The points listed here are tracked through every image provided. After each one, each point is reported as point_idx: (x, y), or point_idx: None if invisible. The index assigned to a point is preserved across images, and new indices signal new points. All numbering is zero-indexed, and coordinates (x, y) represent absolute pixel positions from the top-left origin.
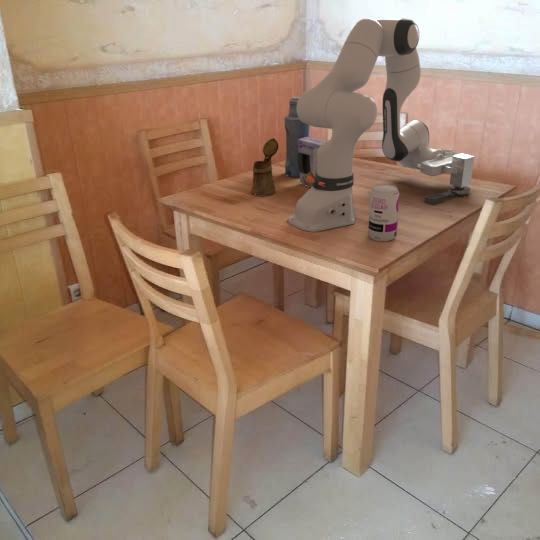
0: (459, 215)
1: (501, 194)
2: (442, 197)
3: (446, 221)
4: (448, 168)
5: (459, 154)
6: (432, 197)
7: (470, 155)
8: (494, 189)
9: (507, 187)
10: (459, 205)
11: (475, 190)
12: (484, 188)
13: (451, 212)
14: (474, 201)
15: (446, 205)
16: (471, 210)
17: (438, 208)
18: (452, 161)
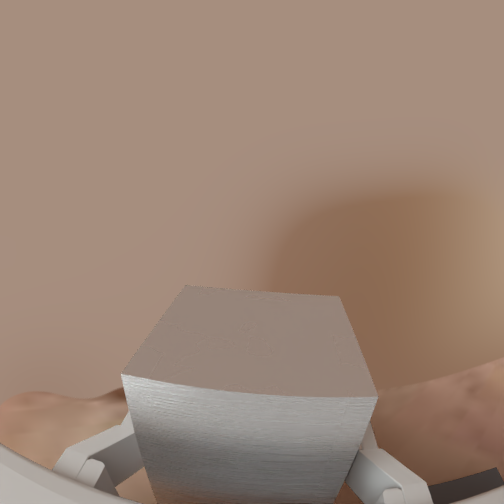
0: (443, 386)
1: (122, 402)
2: (440, 486)
3: (493, 374)
4: (406, 476)
5: (212, 381)
6: (491, 488)
7: (176, 304)
8: (64, 432)
9: (24, 400)
10: (387, 441)
11: (120, 495)
12: None
13: (455, 409)
14: None
15: (436, 461)
16: (382, 395)
17: (480, 448)
18: (353, 453)
